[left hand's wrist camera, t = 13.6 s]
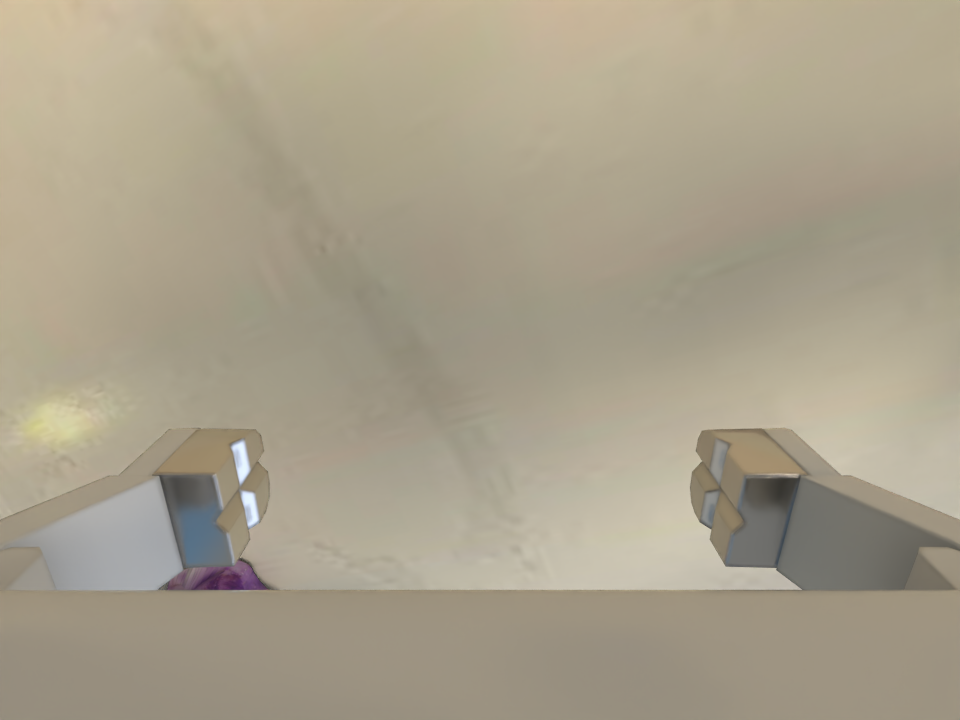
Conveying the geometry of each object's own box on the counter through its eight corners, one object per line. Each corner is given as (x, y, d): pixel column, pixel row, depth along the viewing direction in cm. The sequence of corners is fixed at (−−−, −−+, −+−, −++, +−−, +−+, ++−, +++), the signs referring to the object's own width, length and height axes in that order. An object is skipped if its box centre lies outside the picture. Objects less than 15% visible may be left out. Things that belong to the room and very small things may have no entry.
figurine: (146, 592, 51) (22, 759, 38) (210, 532, 49) (103, 688, 35) (227, 644, 54) (139, 819, 40) (292, 591, 51) (222, 758, 38)
